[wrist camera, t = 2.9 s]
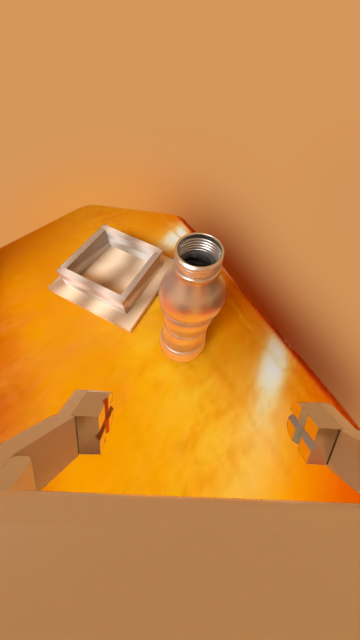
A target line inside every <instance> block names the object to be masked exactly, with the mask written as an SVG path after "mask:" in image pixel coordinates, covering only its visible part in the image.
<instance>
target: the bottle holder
mask: <svg viewBox="0 0 360 640" xmlns="http://www.w3.org/2000/svg"><path fill="white" fill-rule="evenodd" d="M172 266H173V259H172V258H170V257H167V256H165V255H163V250H162V249H160V248H158V247H155V246H153V245H151V244H148V243H146V242H144V241H141V240H139V239H137V238H134V237H132V236H130V235H128V234H125V233H123V232H121V231H118V230H116V229H114V228H111V227H109V226H107V225H105V224H104V225H103V226H102V227H101V228H100V229H99V230H98V231H97V232H96V233H95V234H94V235H92V236H91V237H90V238H89V239H88V240H87V241H86V242H85V243H84V244H83V245H82V246H81V247H80V248H79V249H78V250H77V251H76V252H75V253H74V254H73V255H72V256H71V257H70V258H69V259H68V260H67V261H66V262H65V263H63V264H62V265H61V266H60V267H59V268H58V269H57V272H58V273H59V275H60V276H59V277H58V278H57V279H56V280H55V281H54V282H53V283H52V284H51V285H50V286H49V287H48V288H49V290H50V291H51V292H53V293H55V294H57V295H59V296H61V297H63V298H65V299H67V300H69V301H71V302H73V303H74V304H76V305H78V306H80V307H82V308H84V309H86V310H88V311H90V312H92V313H94V314H96V315H97V316H99V317H101V318H103V319H105V320H107V321H109V322H111V323H113V324H115V325H117V326H119V327H121V328H122V329H124V330H126V331H128V332H130V333H131V332H132V331H133V329H134V328H135V326H136V325H137V323H138V322H139V320H140V319H141V318H142V316H143V315H144V313H145V312H146V310H147V309H148V307H149V306H150V305H151V303H152V302H153V300H154V299H155V297H156V296H157V294H158V290H159V285H160V282H161V280H162V278H163V276H164V274H165V272H166V271H167V270H168V269H169V268H170V267H172Z"/></svg>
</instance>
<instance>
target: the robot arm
mask: <svg viewBox="0 0 360 640" xmlns="http://www.w3.org/2000/svg"><path fill="white" fill-rule="evenodd" d="M112 401H113V393H112V392H108V391H95V390H79V389H78V390H76V391H75V392H74V393H73V394H72V396H71V397H70V398H69V400H68V401H67V402H66V404H65V405H64V406H63V408H62V409H61V411H60V412H59V413H58V415H53V416H51V417H49V418H47V419H45V420H43V421H42V422H40V423H38V424H36V425H34V426H32V427H31V428H29V429H27V430H25V431H23V432H21V433H20V434H18V435H16V436H14V437H12V438H10V439H9V440H7V441H5V442H3V443H1V444H0V640H360V503H338V502H313V501H288V500H263V499H237V498H211V497H185V496H159V495H134V494H108V493H82V492H56V491H40V490H41V489H43V488H44V487H45V486H46V485H47V484H48V483H49V482H50V481H51V480H52V479H53V478H55V477H56V476H57V475H58V474H59V473H60V472H61V471H62V470H63V469H64V468H65V467H66V466H68V465H69V464H70V463H71V462H72V461H73V460H74V459H75V458H76V457H77V456H78V454H101V452H102V449H103V446H104V444H105V441H106V434H107V433H108V432H109V431H110V428H111V425H112V420H113V408H112V406H111V403H112ZM291 411H292V413H293V414H292V415H291V416H289V417H288V421H287V429H288V433H289V435H290V437H291V439H292V440H293V441H294V442H295V443H297V444H298V451H299V452H300V454H301V455H302V457H303V459H304V460H305V462H306V464H318V465H328V466H327V467H329V468H330V469H331V470H332V471H333V472H334V473H336V474H337V475H338V476H339V477H340V478H341V479H343V480H344V481H345V482H346V483H347V484H348V485H349V486H351V487H352V488H353V489H354V490H355V491H356V492H358V493H359V494H360V430H356V429H355V428H354V427H353V426H352V425H351V424H350V423H349V422H348V421H347V420H346V419H345V418H344V417H343V416H342V415H341V414H340V413H339V412H338V411H337V410H336V409H335V408H334V407H333V406H332V405H331V404H329V403H307V402H294V403H293V404H292V406H291Z"/></svg>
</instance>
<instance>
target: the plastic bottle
mask: <svg viewBox="0 0 360 640" xmlns="http://www.w3.org/2000/svg"><path fill="white" fill-rule="evenodd" d="M223 258H224V247H223V245H222V243H221V242H220V241H219V240H218V239H217V238H216V237H214V236H212V235H210V234H207V233H200V232H196V233H190V234H187V235H185V236H183V237H182V238H180V239H179V240H178V242H177V244H176V247H175V256H174V259H173V266H172V267H170V268H169V269H168V270H167V271H166V272H165V274H164V276H163V278H162V280H161V282H160V285H159V290H158V294H159V300H160V305H161V308H162V311H163V314H164V326H163V329H162V331H161V335H160V346H161V348H162V350H163V352H164V353H165V355H166V356H167V357H168V358H170V359H171V360H173V361H176V362H188V361H190V360H193V359H194V358H196V357H197V356H198V355H199V354H200V353H201V352H202V350H203V349H204V346H205V342H206V331H207V328H208V326H209V324H210V323H211V321H212V320H213V319H214V318H215V316H216V315H217V314H218V313H219V311H220V310H221V308H222V307H223V305H224V303H225V300H226V295H227V290H226V282H225V279H224V277H223V275H222V274H221V268H222V261H223Z"/></svg>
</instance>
